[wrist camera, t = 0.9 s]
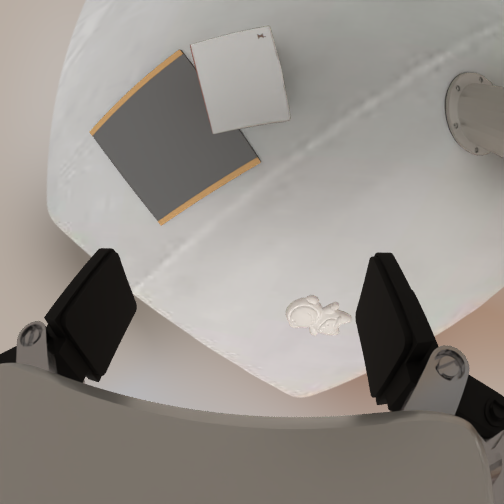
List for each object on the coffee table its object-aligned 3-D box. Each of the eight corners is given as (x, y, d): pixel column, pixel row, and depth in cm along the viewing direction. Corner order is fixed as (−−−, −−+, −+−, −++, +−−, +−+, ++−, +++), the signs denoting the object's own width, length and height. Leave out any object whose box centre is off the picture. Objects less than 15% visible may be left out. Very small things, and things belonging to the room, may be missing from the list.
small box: (219, 59, 27) (187, 42, 16) (271, 49, 26) (271, 23, 15) (234, 119, 31) (211, 136, 20) (285, 110, 30) (293, 120, 19)
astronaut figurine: (327, 337, 51) (329, 349, 49) (276, 317, 49) (276, 329, 46) (357, 310, 47) (361, 322, 44) (305, 285, 44) (306, 297, 42)
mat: (181, 50, 26) (179, 49, 25) (260, 161, 34) (260, 162, 33) (92, 131, 32) (89, 132, 31) (162, 223, 39) (161, 225, 39)
